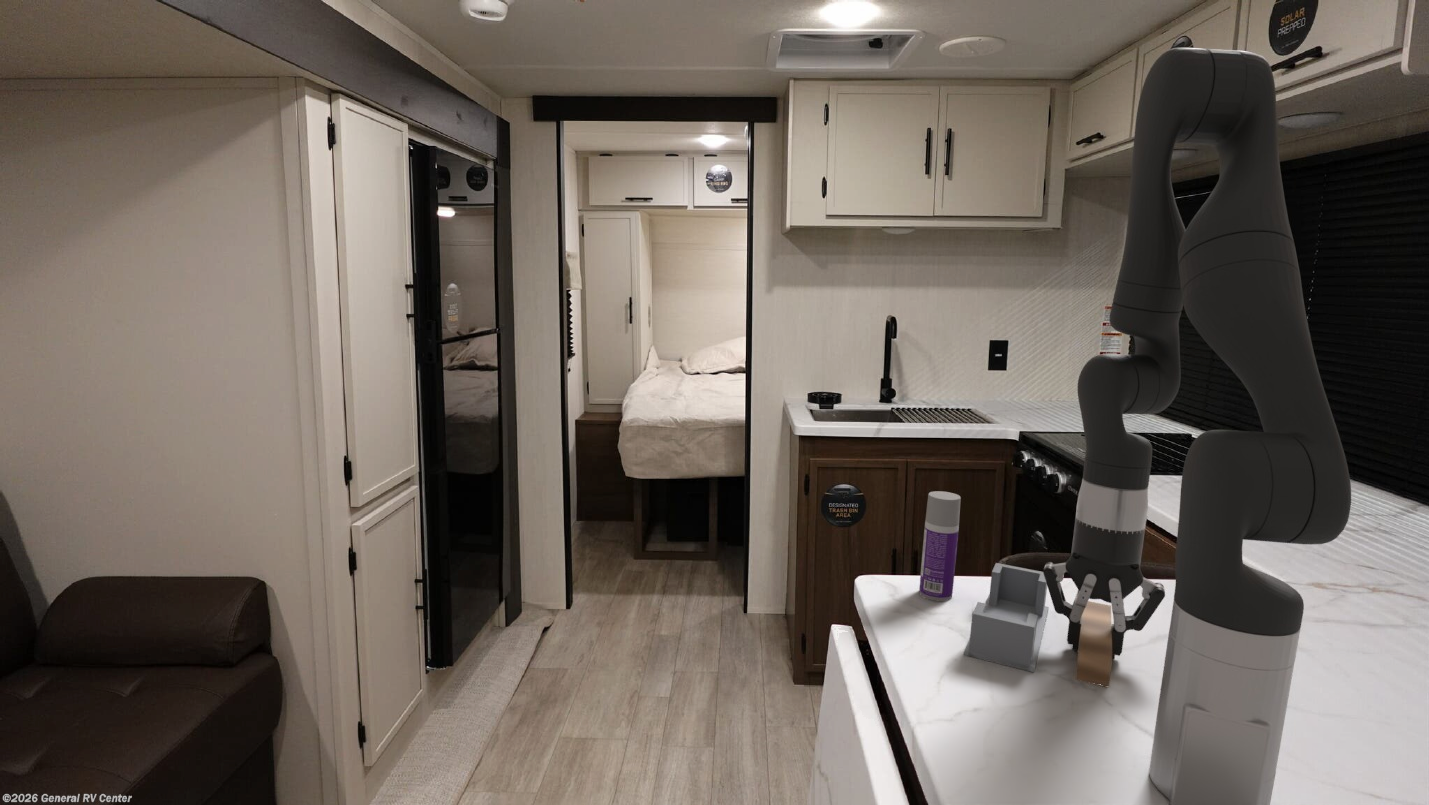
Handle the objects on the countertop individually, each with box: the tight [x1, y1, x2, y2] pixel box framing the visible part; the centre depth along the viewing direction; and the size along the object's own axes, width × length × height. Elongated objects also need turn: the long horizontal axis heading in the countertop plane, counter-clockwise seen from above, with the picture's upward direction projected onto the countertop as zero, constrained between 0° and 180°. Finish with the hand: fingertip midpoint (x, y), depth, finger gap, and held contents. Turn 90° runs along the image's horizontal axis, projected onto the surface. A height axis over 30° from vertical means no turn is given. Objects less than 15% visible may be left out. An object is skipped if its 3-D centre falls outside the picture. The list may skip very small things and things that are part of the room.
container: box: [918, 490, 962, 602], centre depth 110 cm, size 5×5×15 cm
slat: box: [1075, 600, 1113, 687], centre depth 95 cm, size 16×3×4 cm, turn 153°
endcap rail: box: [963, 562, 1050, 673], centre depth 100 cm, size 20×8×6 cm, turn 152°
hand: (1093, 651), depth 95 cm, fingers closed on slat, 3 cm apart
